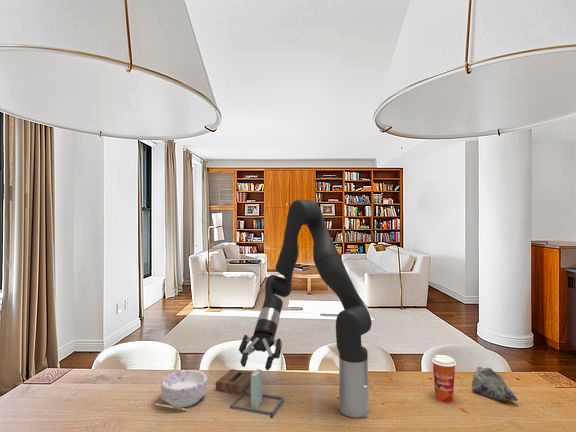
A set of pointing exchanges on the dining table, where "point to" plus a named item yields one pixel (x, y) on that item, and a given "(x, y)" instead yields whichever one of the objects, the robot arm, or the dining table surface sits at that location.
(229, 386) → the walnut slotted block
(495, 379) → the mineral rock
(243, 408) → the charcoal tray
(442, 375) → the paper cup
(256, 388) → the pale green rectangular block
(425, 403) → the dining table surface
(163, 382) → the paper bowls
